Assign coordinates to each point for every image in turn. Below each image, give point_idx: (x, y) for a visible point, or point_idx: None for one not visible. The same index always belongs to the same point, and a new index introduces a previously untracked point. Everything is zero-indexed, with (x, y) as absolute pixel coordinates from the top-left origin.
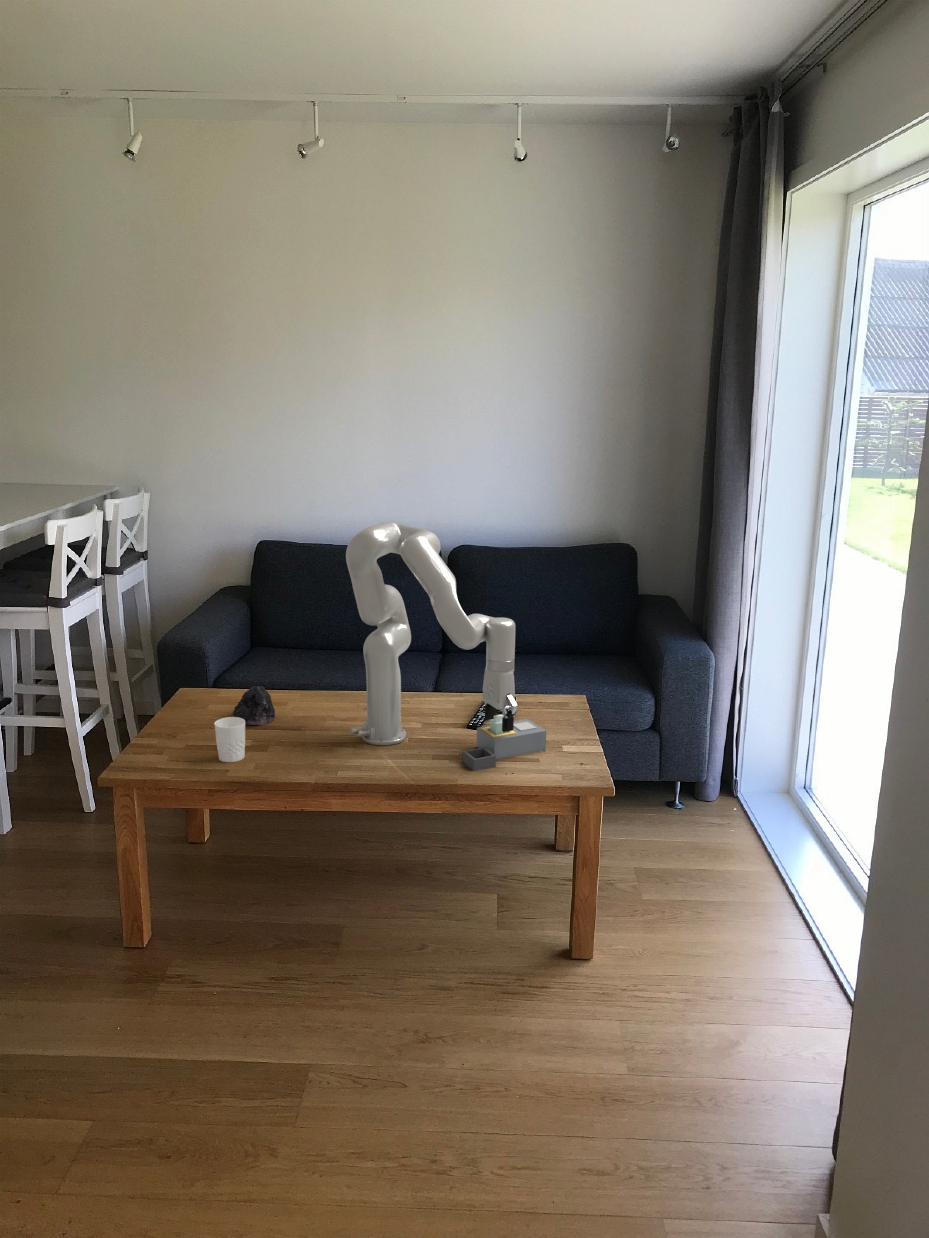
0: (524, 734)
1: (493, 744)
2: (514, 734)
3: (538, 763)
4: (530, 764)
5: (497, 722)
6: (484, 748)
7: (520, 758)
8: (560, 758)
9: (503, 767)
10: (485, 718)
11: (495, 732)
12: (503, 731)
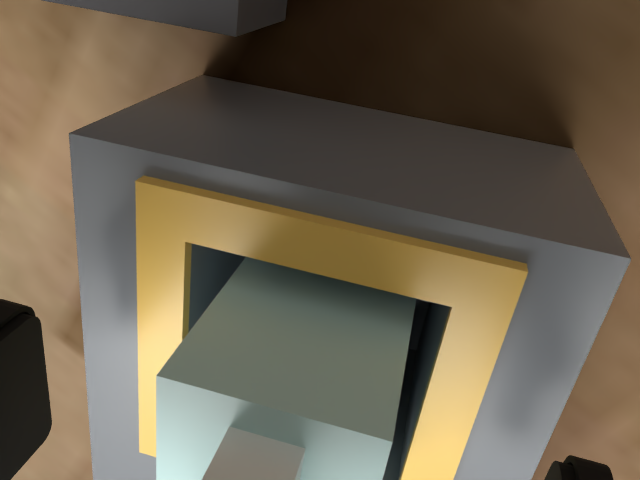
0: (99, 476)
1: (131, 118)
2: (138, 420)
3: (36, 313)
4: (39, 263)
5: (208, 435)
6: (204, 11)
7: None
8: (59, 449)
9: (57, 57)
10: (579, 472)
11: (233, 294)
12: (2, 305)
